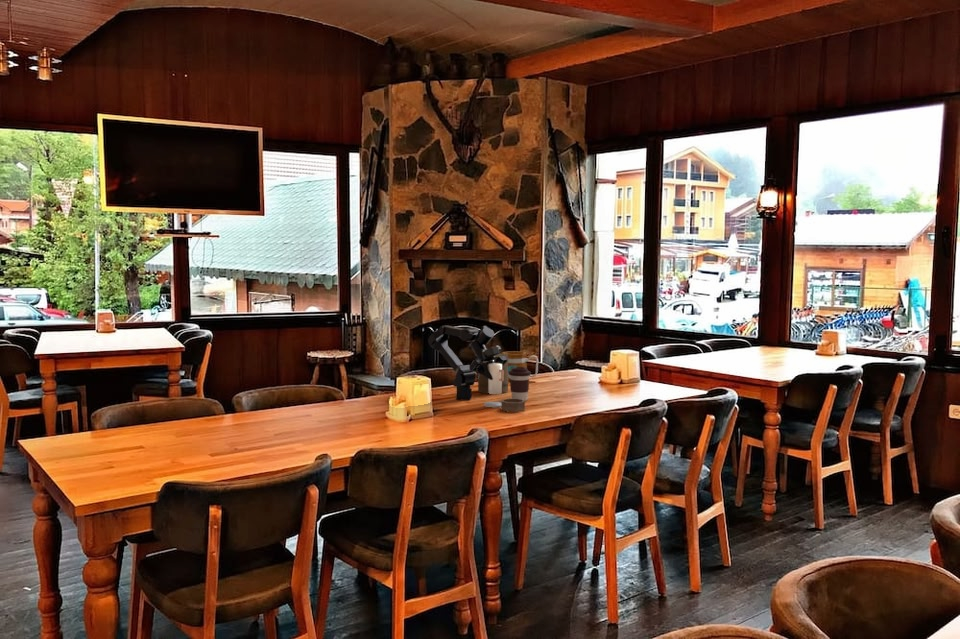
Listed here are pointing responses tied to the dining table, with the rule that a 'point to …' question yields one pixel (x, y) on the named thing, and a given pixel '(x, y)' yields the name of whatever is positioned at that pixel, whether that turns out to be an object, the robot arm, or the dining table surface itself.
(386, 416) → the dining table surface
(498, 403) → the plate
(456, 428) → the dining table surface
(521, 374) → the coffee cup
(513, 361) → the mug
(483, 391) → the wooden container
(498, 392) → the jug
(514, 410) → the holder
